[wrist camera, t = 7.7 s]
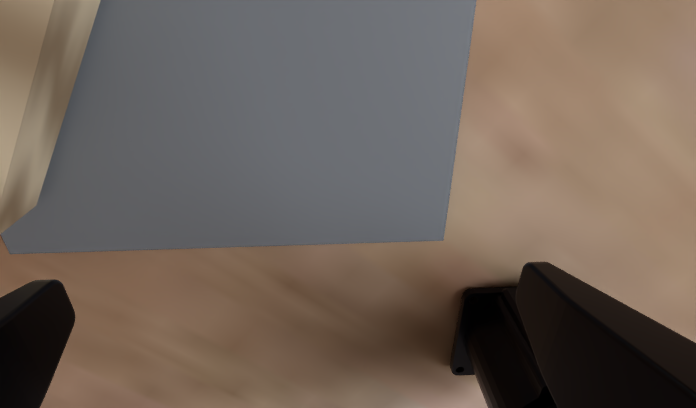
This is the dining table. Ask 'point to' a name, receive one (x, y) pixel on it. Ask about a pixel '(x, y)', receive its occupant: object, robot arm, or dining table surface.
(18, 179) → the dial lever
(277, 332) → the dining table surface
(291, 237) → the grey board
